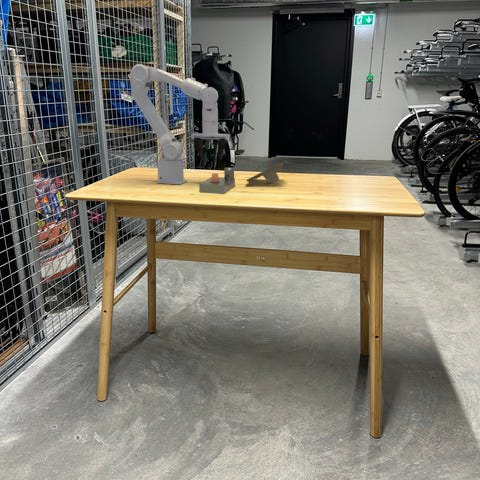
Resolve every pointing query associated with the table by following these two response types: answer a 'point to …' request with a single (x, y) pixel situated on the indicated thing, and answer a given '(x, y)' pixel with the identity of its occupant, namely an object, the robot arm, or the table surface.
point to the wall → (268, 174)
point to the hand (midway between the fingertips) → (210, 158)
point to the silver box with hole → (219, 183)
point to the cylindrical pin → (214, 178)
